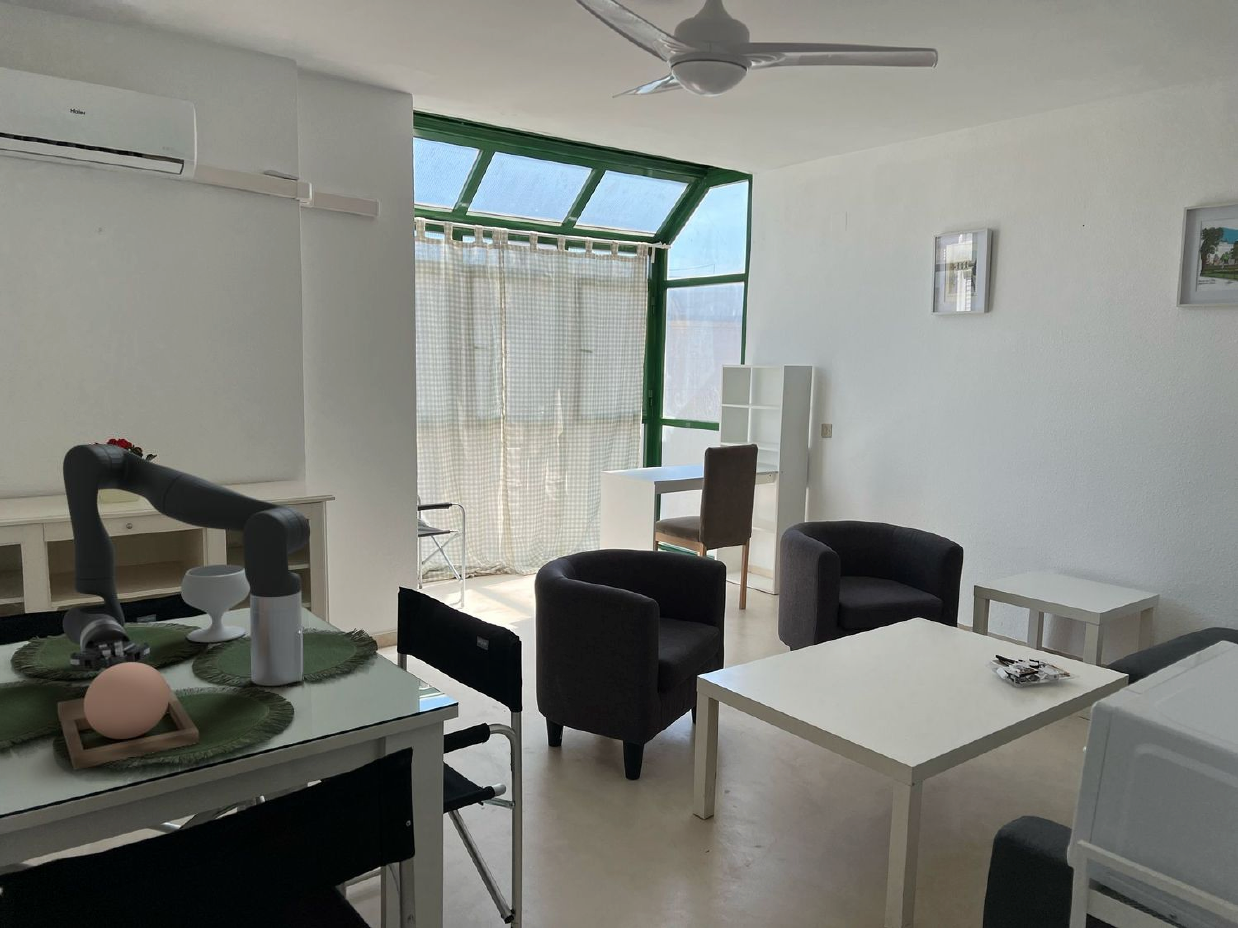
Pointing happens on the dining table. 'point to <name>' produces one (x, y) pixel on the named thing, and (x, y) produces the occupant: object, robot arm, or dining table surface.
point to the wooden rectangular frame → (76, 720)
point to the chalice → (215, 598)
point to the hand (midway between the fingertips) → (118, 668)
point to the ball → (126, 700)
